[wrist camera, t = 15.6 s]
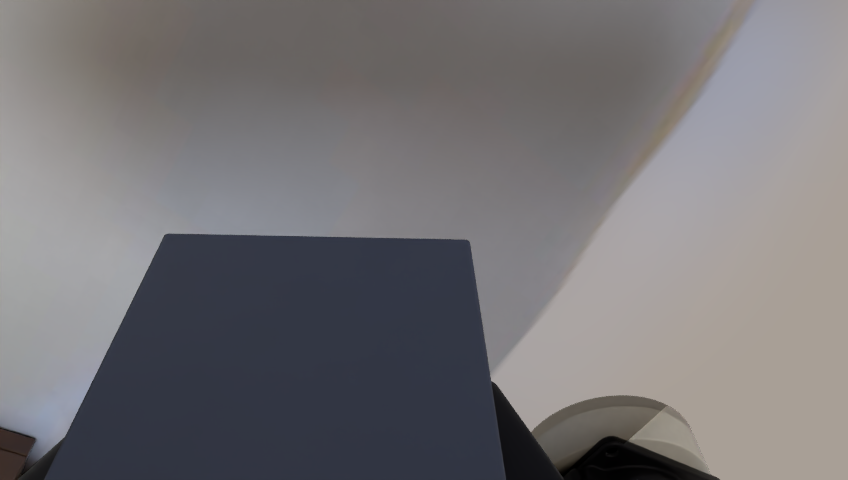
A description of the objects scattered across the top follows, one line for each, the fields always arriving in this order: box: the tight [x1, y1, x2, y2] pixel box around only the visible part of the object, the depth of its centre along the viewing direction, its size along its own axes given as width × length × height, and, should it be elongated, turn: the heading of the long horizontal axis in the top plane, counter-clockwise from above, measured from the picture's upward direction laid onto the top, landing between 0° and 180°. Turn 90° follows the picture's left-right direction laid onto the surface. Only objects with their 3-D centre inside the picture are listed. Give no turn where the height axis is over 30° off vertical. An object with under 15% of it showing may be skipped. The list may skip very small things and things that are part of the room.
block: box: [44, 234, 506, 480], centre depth 9 cm, size 4×4×4 cm
